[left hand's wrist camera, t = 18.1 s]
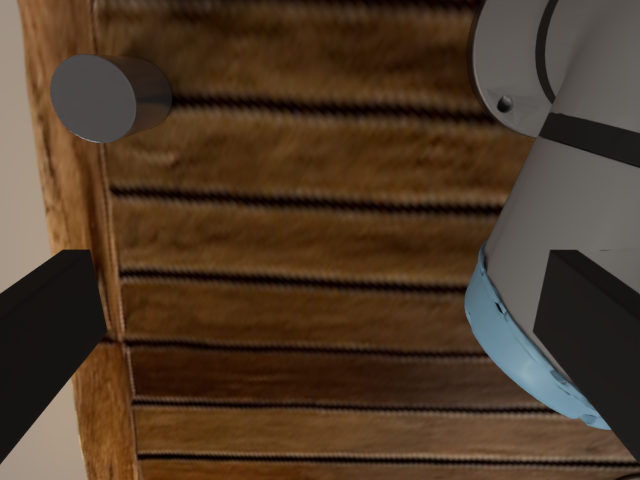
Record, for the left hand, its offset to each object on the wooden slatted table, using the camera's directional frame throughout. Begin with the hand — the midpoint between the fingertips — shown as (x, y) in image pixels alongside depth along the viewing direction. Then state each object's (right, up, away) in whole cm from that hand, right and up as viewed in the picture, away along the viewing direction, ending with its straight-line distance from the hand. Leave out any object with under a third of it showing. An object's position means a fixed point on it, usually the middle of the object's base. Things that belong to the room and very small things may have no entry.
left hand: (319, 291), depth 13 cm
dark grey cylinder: (-16, +14, +25) cm, 33 cm away
